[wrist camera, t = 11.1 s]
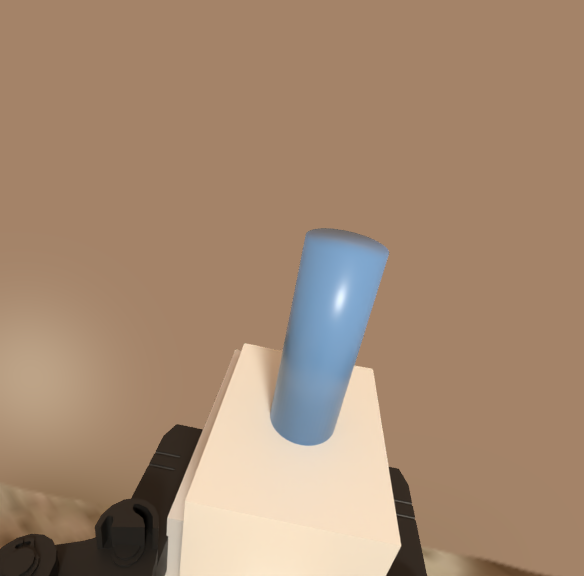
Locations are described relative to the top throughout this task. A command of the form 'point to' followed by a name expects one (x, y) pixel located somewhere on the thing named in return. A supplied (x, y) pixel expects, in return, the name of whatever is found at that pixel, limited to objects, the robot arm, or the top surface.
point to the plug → (301, 439)
